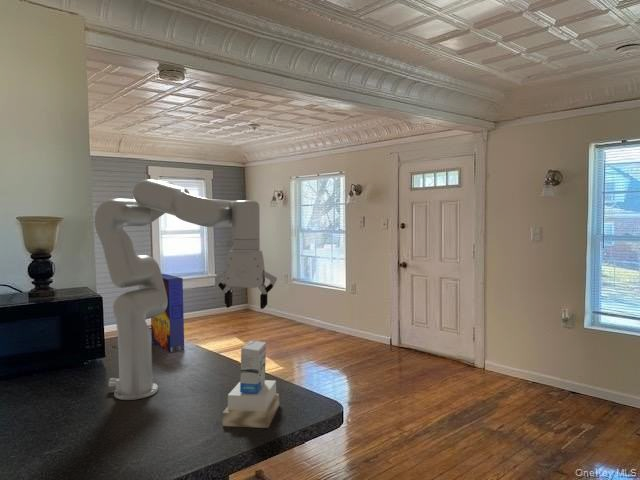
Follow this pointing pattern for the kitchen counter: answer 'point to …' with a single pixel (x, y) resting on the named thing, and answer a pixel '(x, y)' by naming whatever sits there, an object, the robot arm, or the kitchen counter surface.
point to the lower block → (251, 416)
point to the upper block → (252, 398)
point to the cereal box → (170, 318)
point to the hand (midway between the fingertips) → (246, 307)
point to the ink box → (252, 367)
